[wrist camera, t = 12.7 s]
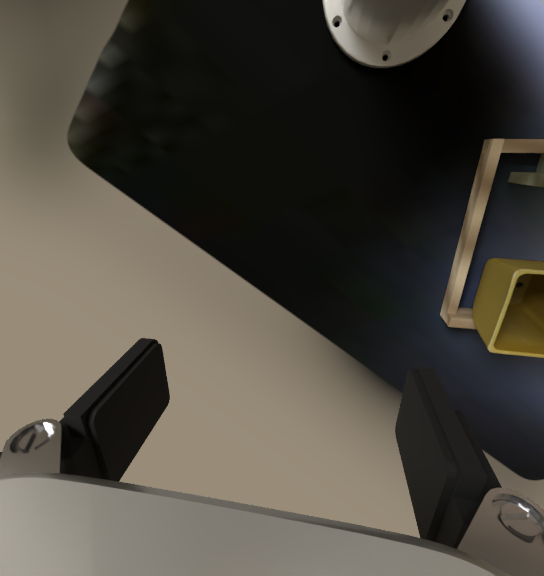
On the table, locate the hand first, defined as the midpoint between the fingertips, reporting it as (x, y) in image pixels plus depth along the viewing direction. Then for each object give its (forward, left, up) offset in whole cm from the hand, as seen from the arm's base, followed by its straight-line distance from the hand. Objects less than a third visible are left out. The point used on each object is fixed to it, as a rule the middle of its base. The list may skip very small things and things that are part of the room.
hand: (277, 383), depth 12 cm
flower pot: (+6, +23, -28) cm, 37 cm away
